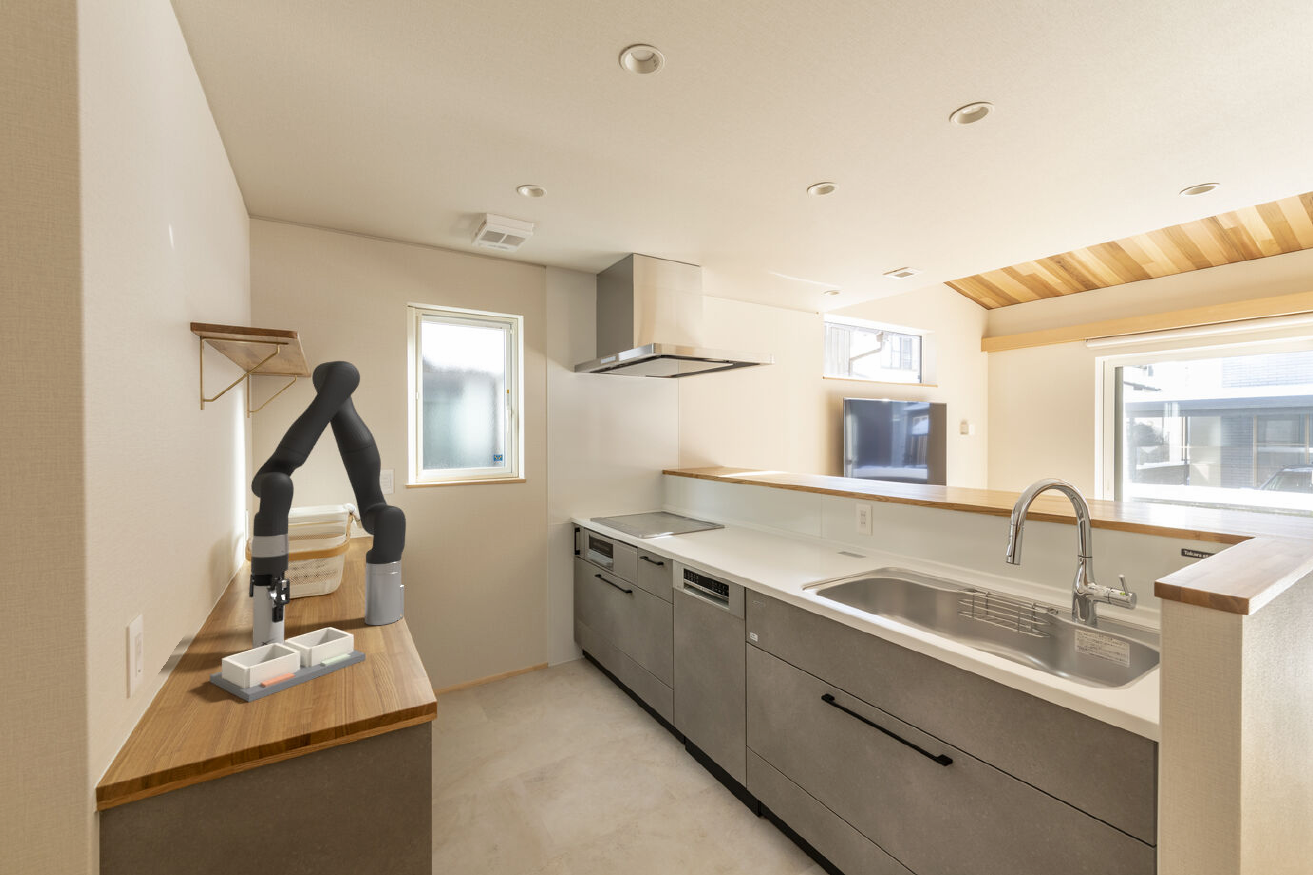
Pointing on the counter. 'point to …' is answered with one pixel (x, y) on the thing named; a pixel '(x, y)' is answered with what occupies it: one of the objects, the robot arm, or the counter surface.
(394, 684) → the counter surface
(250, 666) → the holder board
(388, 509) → the robot arm
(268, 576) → the travel mug
